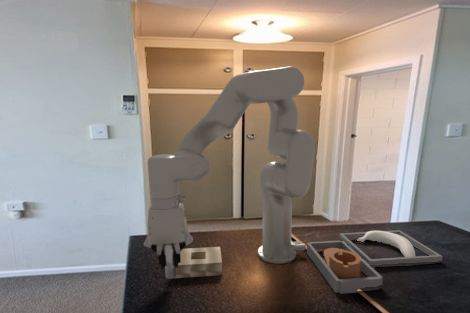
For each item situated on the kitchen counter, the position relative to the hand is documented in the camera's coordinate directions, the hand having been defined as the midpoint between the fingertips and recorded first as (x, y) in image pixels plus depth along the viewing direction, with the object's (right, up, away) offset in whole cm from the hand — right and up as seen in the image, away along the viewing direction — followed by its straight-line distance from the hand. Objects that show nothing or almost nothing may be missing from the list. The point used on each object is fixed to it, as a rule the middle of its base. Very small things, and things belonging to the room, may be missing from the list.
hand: (170, 265), depth 79 cm
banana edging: (+70, -3, +20) cm, 73 cm away
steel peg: (0, -3, +1) cm, 3 cm away
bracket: (+50, -5, +9) cm, 51 cm away
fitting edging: (+50, -5, +9) cm, 51 cm away
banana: (+70, -3, +20) cm, 73 cm away
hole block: (+7, -5, +10) cm, 13 cm away
